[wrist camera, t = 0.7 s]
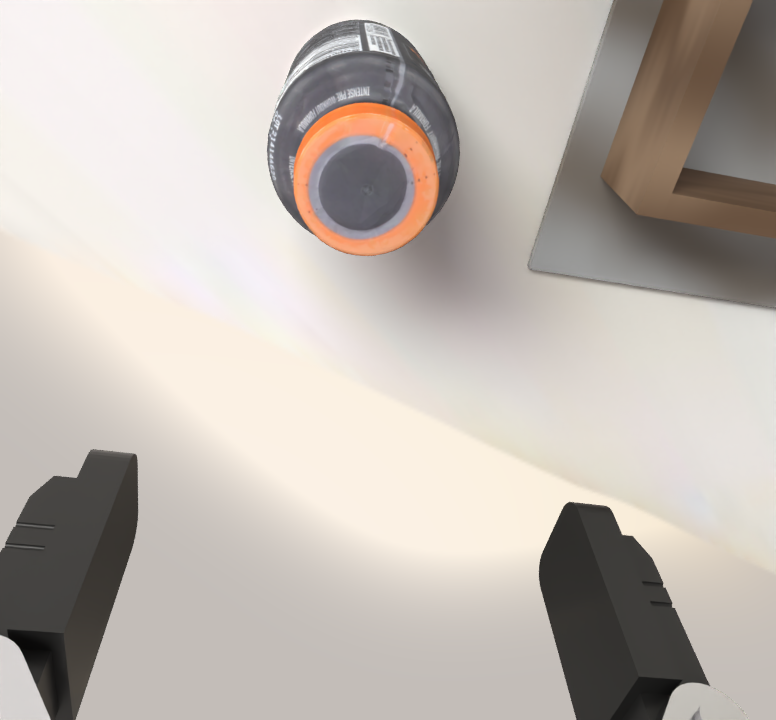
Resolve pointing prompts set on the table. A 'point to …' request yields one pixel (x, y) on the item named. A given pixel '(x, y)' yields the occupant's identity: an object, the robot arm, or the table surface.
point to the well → (673, 155)
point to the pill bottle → (362, 140)
